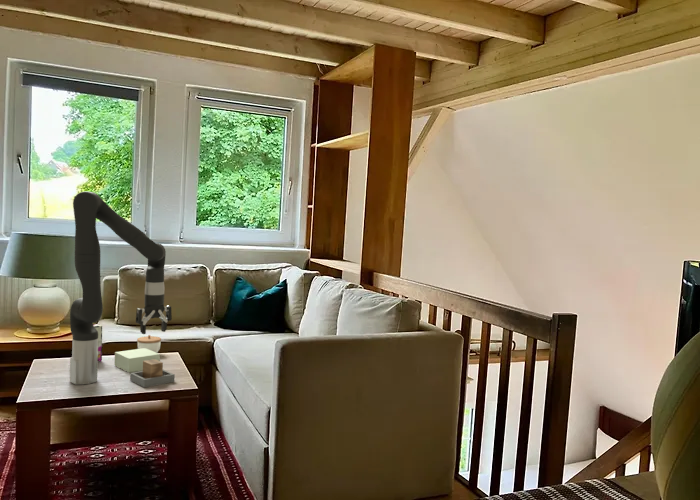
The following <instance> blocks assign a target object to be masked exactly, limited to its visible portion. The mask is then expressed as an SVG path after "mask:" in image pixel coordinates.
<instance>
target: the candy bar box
mask: <svg viewBox="0 0 700 500" xmlns="http://www.w3.org/2000/svg"><path fill="white" fill-rule="evenodd" d="M93 326H94V327H95V329H96V330H97V331H98V362H102V361H103V325H102V324H98V323H97V324H96V323H94V324H93Z"/></svg>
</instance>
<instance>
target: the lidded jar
mask: <svg viewBox="0 0 700 500" xmlns="http://www.w3.org/2000/svg"><path fill="white" fill-rule="evenodd" d="M161 341H162V338H161V337H158V336H153V335H152V336H151V335H150V334H148V335H147V336H141V337H138V338H137V341H136V342H137V349H142V348H146V349H149V350H151V351H154V352H156V353H159V351H160V349H161Z"/></svg>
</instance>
